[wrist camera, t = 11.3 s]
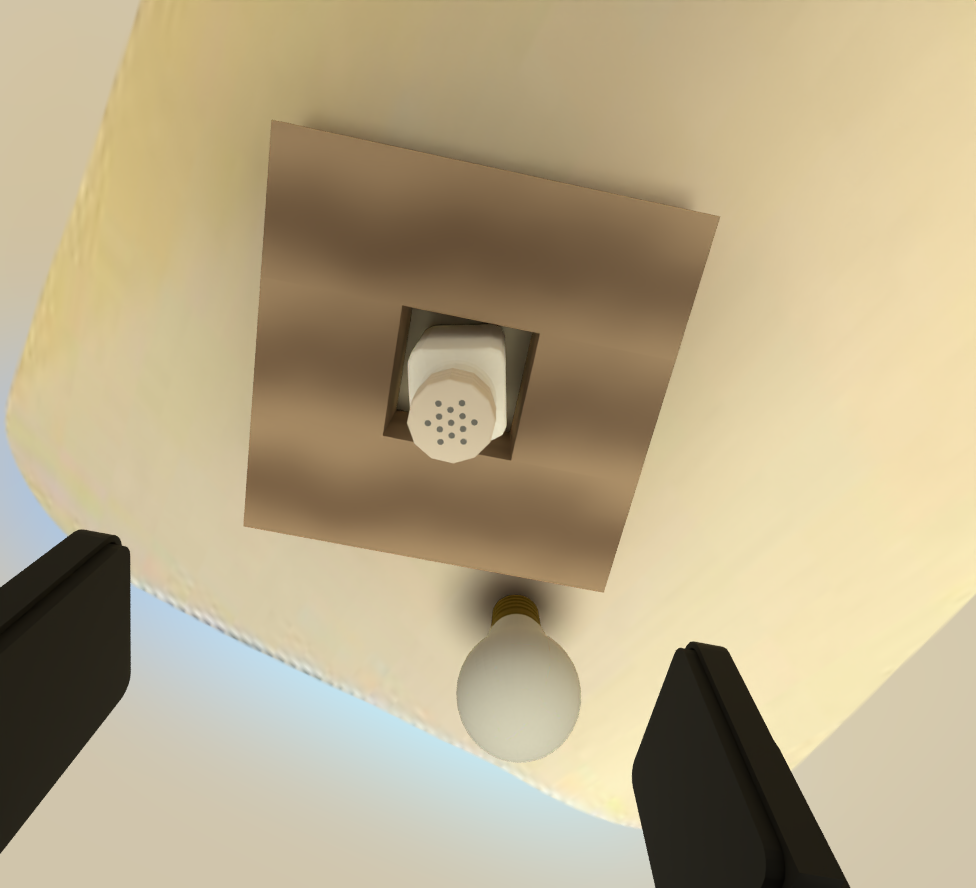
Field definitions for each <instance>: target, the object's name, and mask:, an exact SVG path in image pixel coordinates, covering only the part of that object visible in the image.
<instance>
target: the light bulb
mask: <svg viewBox="0 0 976 888" xmlns="http://www.w3.org/2000/svg"><path fill="white" fill-rule="evenodd" d="M456 695H457V706H458V711H459V714H460V717H461V721H462V723H463V725H464V727H465V729H466V731H467V732H468V734H469V735H470V737H471V738H472V739H473V740H474V742H475V743H476V744H477V745H478V746H479V747H480V748H482V749H483V750H484V751H486V752H487V753H489V754H490V755H492V756H494V757H496V758H499V759H502V760H505V761H509V762H530V761H535V760H538V759H541V758H543V757H546V756H547V755H549V754H551V753H552V752H554V751H555V750H556V749H557V748H559V747H560V746H561V745H562V744H563V743H564V742H565V740H566V739H567V738H568V736H569V735H570V733H571V732H572V730H573V728H574V726H575V724H576V721H577V718H578V715H579V710H580V705H581V688H580V683H579V678H578V674H577V672H576V669H575V667H574V664H573V662H572V661H571V659H570V658H569V656H568V655H567V653H566V652H565V651H564V650H563V648H562V647H561V646H560V645H559V644H558V643H556V642H555V641H554V640H553V639H551V638H550V637H548V636H546V635H545V633H544V631H543V629H542V627H541V625H540V619H539V614H538V609H537V607H536V605H535V604H534V602H533V601H531V600H530V599H529V598H527V597H524V596H521V595H510V596H506V597H504V598H502V599H501V600H499V601H498V602H497V604H496V605H495V607H494V609H493V614H492V624H491V629H490V631H489V633H488V636H487V637H486V638H484V639H483V640H482V641H480V642H479V643H478V644H477V645H476V646H475V647H474V648H473V649H472V651H471V652H470V653H469V655H468V656H467V658H466V660H465V662H464V663H463V665H462V668H461V671H460V674H459V677H458V682H457V694H456Z"/></svg>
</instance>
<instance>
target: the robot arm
mask: <svg viewBox="0 0 976 888" xmlns="http://www.w3.org/2000/svg"><path fill="white" fill-rule="evenodd" d="M130 654H131V651H130V551H129V549H128V548H127V547H126V546H122V544H121V541H120V539H119V537H117V536H116V535H110V534H105V533H99V532H94V531H88V530H77V531H75V532H73V533H72V534H71V535H69V536H68V537H67V538H65V539H64V540H63V541H62V542H60V543H59V544H57V545H56V546H55V547H53V548H52V549H51V550H49V551H48V552H47V553H45V554H44V555H43V556H41V557H40V558H39V559H37V560H36V561H35V562H33V563H32V564H31V565H29V566H28V567H27V568H25V569H24V570H23V571H21V572H20V573H19V574H18V575H16V576H15V577H14V578H12V579H11V580H10V581H8V582H7V583H6V584H4V585H3V586H2V587H0V853H1V852H2V851H3V850H4V848H5V847H6V846H7V845H8V843H9V842H10V841H11V839H12V838H13V837H14V836H15V834H16V833H17V832H18V830H19V829H20V828H21V826H22V825H23V824H24V823H25V821H26V820H27V819H28V818H29V816H30V815H31V814H32V813H33V811H34V810H35V808H36V807H37V806H38V805H39V804H40V802H41V801H42V800H43V798H44V797H45V796H46V794H47V793H48V792H49V791H50V789H51V788H52V787H53V786H54V784H55V783H56V781H57V780H58V779H59V778H60V777H61V775H62V774H63V773H64V771H65V770H66V769H67V768H68V766H69V765H70V764H71V763H72V761H73V760H74V759H75V757H76V756H77V755H78V754H79V752H80V751H81V750H82V748H83V747H84V746H85V745H86V743H87V742H88V741H89V739H90V738H91V737H92V735H93V734H94V733H95V732H96V731H97V729H98V728H99V727H100V725H101V724H102V723H103V722H104V720H105V719H106V718H107V716H108V715H109V714H110V713H111V711H112V710H113V709H114V707H115V706H116V705H117V703H118V702H119V701H120V700H121V698H122V697H123V695H124V693H125V691H126V689H127V687H128V684H129V681H130V674H131V667H130V666H131V662H130V661H131V656H130ZM632 784H633V789H634V794H635V798H636V803H637V807H638V812H639V816H640V821H641V825H642V830H643V834H644V838H645V843H646V847H647V851H648V856H649V861H650V865H651V870H652V874H653V879H654V883H655V888H850V886H849V884H848V882H847V880H846V878H845V876H844V874H843V872H842V870H841V868H840V866H839V864H838V862H837V860H836V859H835V857H834V855H833V853H832V851H831V849H830V847H829V845H828V843H827V841H826V839H825V837H824V835H823V833H822V831H821V829H820V827H819V826H818V823H817V822H816V820H815V817H814V816H813V814H812V812H811V810H810V808H809V806H808V804H807V802H806V800H805V798H804V796H803V794H802V792H801V790H800V788H799V786H798V784H797V782H796V780H795V778H794V776H793V774H792V772H791V771H790V769H789V767H788V765H787V763H786V761H785V759H784V757H783V755H782V753H781V751H780V749H779V747H778V746H777V745H776V743H775V742H774V740H773V738H772V736H771V734H770V732H769V730H768V728H767V726H766V724H765V722H764V720H763V718H762V716H761V714H760V712H759V710H758V708H757V706H756V704H755V703H754V701H753V699H752V697H751V695H750V693H749V691H748V689H747V687H746V685H745V683H744V681H743V679H742V677H741V675H740V673H739V671H738V669H737V667H736V665H735V663H734V661H733V659H732V657H731V655H730V653H729V652H728V650H727V649H726V648H724V647H721V646H715V645H710V644H704V643H699V642H694V641H693V642H690V643H689V644H688V645H687V646H686V648H685V649H684V648H678V649H677V650H676V652H675V654H674V656H673V659H672V662H671V664H670V667H669V670H668V672H667V675H666V678H665V680H664V683H663V686H662V688H661V691H660V694H659V696H658V699H657V702H656V704H655V707H654V710H653V712H652V715H651V718H650V720H649V723H648V726H647V728H646V731H645V733H644V736H643V739H642V741H641V744H640V747H639V749H638V752H637V755H636V757H635V760H634V764H633V769H632Z"/></svg>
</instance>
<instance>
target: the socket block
mask: <svg viewBox="0 0 976 888" xmlns="http://www.w3.org/2000/svg"><path fill="white" fill-rule="evenodd" d="M719 219H720V216H715V215H710V214H706V213H701V212H696V211H692V210H687V209H683V208H678V207H673V206H669V205H664V204H659V203H655V202H650V201H646V200H641V199H636V198H632V197H627V196H622V195H618V194H613V193H609V192H604V191H599V190H595V189H590V188H585V187H581V186H576V185H572V184H567V183H562V182H558V181H553V180H548V179H544V178H539V177H535V176H530V175H525V174H521V173H516V172H511V171H507V170H502V169H498V168H493V167H488V166H484V165H479V164H474V163H470V162H465V161H461V160H456V159H451V158H447V157H442V156H437V155H433V154H428V153H424V152H419V151H414V150H410V149H405V148H400V147H396V146H391V145H387V144H382V143H377V142H373V141H368V140H363V139H359V138H354V137H350V136H345V135H340V134H336V133H331V132H326V131H322V130H317V129H313V128H308V127H303V126H299V125H294V124H289V123H285V122H280V121H276V120H272V122H271V137H270V151H269V165H268V180H267V194H266V209H265V223H264V238H263V252H262V267H261V281H260V296H259V310H258V325H257V339H256V353H255V368H254V382H253V397H252V411H251V426H250V440H249V455H248V469H247V484H246V498H245V513H244V526H245V527H251V528H256V529H261V530H267V531H272V532H278V533H283V534H289V535H294V536H299V537H305V538H310V539H316V540H321V541H327V542H332V543H337V544H343V545H348V546H354V547H359V548H365V549H370V550H375V551H381V552H386V553H392V554H397V555H403V556H408V557H413V558H419V559H424V560H430V561H435V562H441V563H446V564H452V565H457V566H462V567H468V568H473V569H479V570H484V571H490V572H495V573H500V574H506V575H511V576H517V577H522V578H528V579H533V580H538V581H544V582H549V583H555V584H560V585H566V586H571V587H576V588H582V589H587V590H593V591H598V592H604V590H605V586H606V583H607V580H608V577H609V574H610V570H611V567H612V564H613V561H614V557H615V554H616V551H617V548H618V544H619V541H620V538H621V535H622V532H623V528H624V525H625V522H626V519H627V515H628V512H629V509H630V506H631V503H632V499H633V496H634V493H635V490H636V486H637V483H638V480H639V477H640V474H641V470H642V467H643V464H644V461H645V457H646V454H647V451H648V448H649V445H650V441H651V438H652V435H653V432H654V428H655V425H656V422H657V419H658V416H659V412H660V409H661V406H662V403H663V399H664V396H665V393H666V390H667V387H668V383H669V380H670V377H671V374H672V370H673V367H674V364H675V361H676V357H677V354H678V351H679V348H680V345H681V341H682V338H683V335H684V332H685V328H686V325H687V322H688V319H689V316H690V312H691V309H692V306H693V303H694V299H695V296H696V293H697V290H698V287H699V283H700V280H701V277H702V274H703V270H704V267H705V264H706V261H707V258H708V254H709V251H710V248H711V245H712V241H713V238H714V235H715V232H716V229H717V225H718V222H719ZM412 308H417V309H422V310H427V311H432V312H437V313H442V314H447V315H452V316H457V317H462V318H466V319H471V320H476V321H481V322H486V323H491V324H496V325H501V326H506V327H511V328H515V329H520V330H525V331H530V332H532V337H531V341H530V345H529V350H528V354H527V359H526V363H525V368H524V372H523V377H522V381H521V386H520V390H519V394H518V399H517V403H516V408H515V412H514V417H513V421H512V426H511V430H510V432H507V431H504V433H503V435H501V436H499V437H497V438H495V439H493V440H491V442H490V443H489V444H488V445H487V446H486V447H485V448H484V449H483V450H482V451H481V452H480V453H479V454H478V455H477V456H476V457H475V458H471V459H468V460H464V461H460V462H456V463H450V462H445V461H441V460H437V459H432V458H430V457H429V456H428V455H427V454H426V453H425V452H423V451H422V450H421V449H420V448H419V447H418V446H417V445H415V444H414V441H413V438H412V436H411V433H410V430H409V427H408V424H407V420H408V415H409V412H405V411H400V410H397V403H398V397H399V390H400V384H401V377H402V371H403V364H404V358H405V352H406V345H407V339H408V332H409V326H410V319H411V313H412Z"/></svg>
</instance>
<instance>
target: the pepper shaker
mask: <svg viewBox="0 0 976 888" xmlns="http://www.w3.org/2000/svg"><path fill="white" fill-rule="evenodd" d="M407 364H408V387H409V402H410V410H409V415H408V420H407V424H408V427H409V430H410V433H411V436H412V438H413V441H414V444H415V445H417V446H418V447H419V448H420V449H421V450H422V451H423V452H425V453H426V454H427V455H428V456H429V457H430V458H432V459H437V460H441V461H445V462H450V463H456V462H460V461H464V460H468V459H471V458H475V457H476V456H477V455H478V454H479V453H480V452H481V451H482V450H483V449H484V448H485V447H486V446H487V445H488V444H489V443H490V442H491V440H493V439H495V438H497V437H499V436H501V435H503V433H504V431H505V429H506V426H507V419H506V357H505V335H504V333H503V331H502V328H500V327H498V326H495V325H493V324H486V325H439V326H433V327H430V328H428V329H426V330H425V332H424V333H423V335H422V336H421V338H420V339H419V341H418V343H417V344H416V346H415V347H414V349H413V350H412V352H411V355H410V357H409V360H408V363H407Z"/></svg>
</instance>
